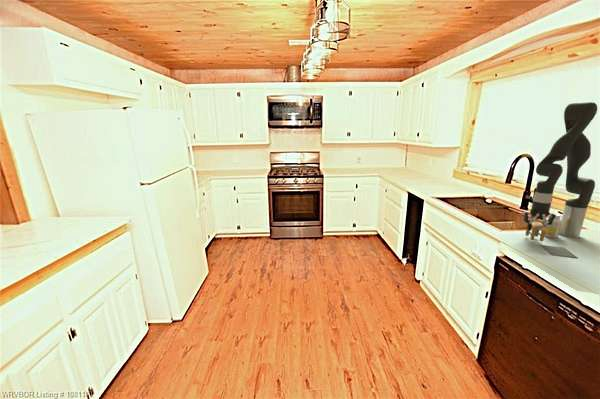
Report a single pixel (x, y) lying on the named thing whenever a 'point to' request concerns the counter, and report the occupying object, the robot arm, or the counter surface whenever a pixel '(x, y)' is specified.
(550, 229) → the supplement bottle
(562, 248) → the rubber mat
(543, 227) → the notched wooden block
